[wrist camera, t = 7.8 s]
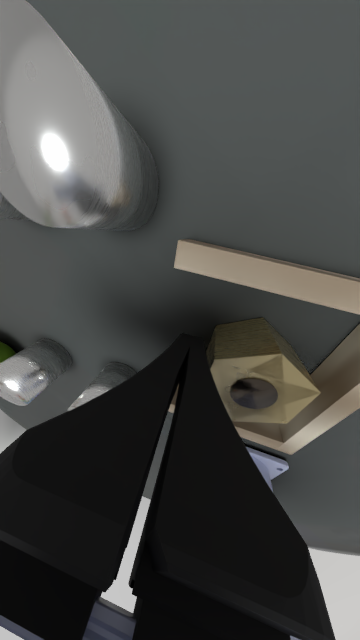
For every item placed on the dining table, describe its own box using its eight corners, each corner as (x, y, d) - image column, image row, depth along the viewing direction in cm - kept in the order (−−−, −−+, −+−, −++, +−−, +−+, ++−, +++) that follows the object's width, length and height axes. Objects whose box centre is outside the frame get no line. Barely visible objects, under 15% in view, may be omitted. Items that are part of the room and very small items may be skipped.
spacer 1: (75, 372, 15) (33, 411, 12) (44, 361, 16) (-5, 396, 12) (68, 345, 14) (17, 382, 10) (33, 333, 14) (-28, 365, 10)
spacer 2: (154, 237, 8) (102, 239, 4) (90, 223, 8) (-5, 213, 5) (164, 133, 6) (85, -9, 2) (80, 120, 6) (-89, -19, 3)
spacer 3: (140, 395, 15) (115, 443, 11) (106, 383, 15) (72, 426, 12) (142, 369, 13) (114, 418, 9) (103, 356, 13) (62, 399, 10)
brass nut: (261, 387, 11) (274, 436, 8) (199, 368, 11) (193, 409, 9) (305, 328, 8) (345, 373, 5) (223, 306, 9) (224, 338, 6)
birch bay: (281, 423, 12) (291, 454, 10) (160, 382, 13) (151, 405, 11) (421, 292, 6) (496, 314, 5) (188, 238, 7) (178, 240, 6)
